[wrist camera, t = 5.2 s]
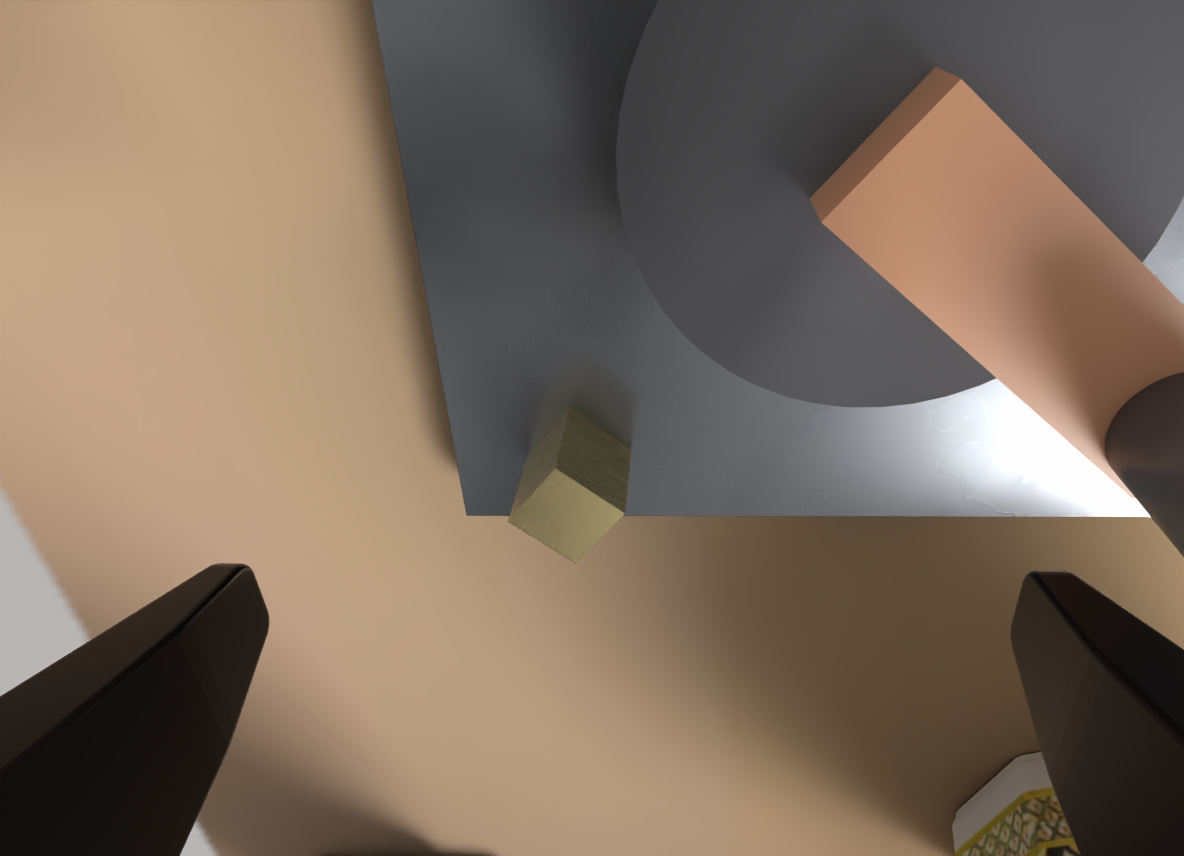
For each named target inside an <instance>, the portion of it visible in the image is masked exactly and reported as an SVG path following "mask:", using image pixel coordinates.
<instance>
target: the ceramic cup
mask: <svg viewBox="0 0 1184 856" xmlns="http://www.w3.org/2000/svg"><path fill="white" fill-rule="evenodd" d="M952 830H953V840H954V849H955V856H1080V854H1079V852H1078V849H1077V847H1076V844H1075V842H1074V839H1073V837H1072V834H1071V832H1070V829H1069V827H1068V824H1067V822H1066V819H1065V817H1064V815H1063V812H1062V810H1061V807H1060V805H1059V802H1058V800H1057V797H1056V794H1055V792H1054V789H1053V786H1052V784H1051V781H1050V778H1049V776H1048V772H1047V769H1046V766H1045V762H1044V759H1043V756H1042V752H1037V753H1031V754H1026V755H1021V756H1019V757H1016V758H1015V759H1014V760H1013V761H1012V762H1010V763H1009V764H1008V765H1007V766H1006V767H1005V768H1004V769H1003V770H1002V771H1001V772H999V773H998V774H997V775H996V776H995V777H994V778H993V779H992V780H991V781H990V782H988V783H987V784H986V785H985V786H984V787H983V788H982V789H981V790H980V791H979V792H977V793H976V794H975V795H974V796H973V797H972V798H971V799H970V800H969V801H968V802H966V803H965V804H964V805H963V806H962V807H961V808H960V809H959V810H958V811H957V812H956V819H955V820H954V822H953V824H952Z"/></svg>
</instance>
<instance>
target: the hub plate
mask: <svg viewBox="0 0 1184 856" xmlns="http://www.w3.org/2000/svg"><path fill="white" fill-rule="evenodd" d="M658 1H659V0H372V6H373V11H374V16H375V22H376V27H377V33H378V38H379V43H380V49H381V54H382V60H383V65H384V71H385V76H386V81H387V87H388V92H389V98H390V103H391V108H392V114H393V119H394V125H395V130H396V136H397V141H398V146H399V152H400V157H401V163H402V168H403V173H404V179H405V184H406V190H407V195H408V201H409V206H410V211H411V217H412V222H413V228H414V233H415V238H416V244H417V249H418V255H419V260H420V266H421V271H422V276H423V282H424V287H425V293H426V298H427V303H428V309H429V314H430V320H431V325H432V331H433V336H434V341H435V347H436V352H437V358H438V363H439V368H440V374H441V379H442V385H443V390H444V396H445V401H446V406H447V412H448V417H449V423H450V428H451V433H452V439H453V444H454V450H455V455H456V461H457V466H458V471H459V477H460V482H461V488H462V493H463V498H464V504H465V509H466V515H467V516H510V517H509V520H508V522H509V523H511V524H513V525H514V526H516V527H517V528H519V529H521V530H522V531H524V532H525V533H527V534H529V535H530V536H532V537H534V538H535V539H537V540H538V541H540V542H542V543H543V544H545V545H546V546H548V547H550V548H551V549H553V550H555V551H556V552H558V553H559V554H561V555H563V556H564V557H566V558H567V559H569V560H571V561H572V562H574V563H575V564H576V563H577V562H578V561H579V560H580V559H581V558H582V557H583V556H584V555H585V554H586V553H587V552H588V551H589V550H590V549H591V548H592V547H593V546H594V545H595V544H596V543H597V542H598V541H599V540H600V539H601V538H602V537H603V536H604V535H605V534H606V533H607V532H608V531H609V529H610V528H611V527H612V526H613V525H614V524H615V523H616V522H617V521H618V520H619V519H620V518H621V517H622V516H968V517H1151V516H1150V515H1149V514H1148V513H1147V511H1146V510H1145V509H1144V508H1143V507H1142V505H1141V504H1140V503H1139V502H1138V500H1137V499H1136V498H1135V499H1134V500H1133V499H1132V498H1131V497H1130V496H1129V495H1128V494H1126V493H1125V492H1124V491H1123V490H1122V489H1121V488H1120V487H1119V486H1117V485H1116V484H1115V483H1114V482H1113V481H1112V480H1111V479H1110V478H1108V477H1107V476H1106V475H1105V474H1104V473H1103V472H1102V471H1101V470H1099V469H1098V468H1097V467H1096V466H1095V465H1094V464H1093V463H1092V462H1090V461H1089V460H1088V459H1087V458H1086V457H1085V456H1084V455H1083V454H1081V453H1080V452H1079V451H1078V450H1077V449H1076V448H1075V447H1074V446H1072V445H1071V444H1070V443H1069V442H1068V441H1067V440H1066V439H1065V438H1063V437H1062V436H1061V435H1060V434H1059V433H1058V432H1057V431H1056V430H1054V429H1053V428H1052V427H1051V426H1050V425H1049V424H1048V423H1047V422H1045V421H1044V420H1043V419H1042V418H1041V417H1040V416H1039V415H1038V414H1036V413H1035V412H1034V411H1033V410H1032V409H1031V408H1030V407H1029V406H1027V405H1026V404H1025V403H1024V402H1023V401H1022V400H1021V399H1020V398H1018V397H1017V396H1016V395H1015V394H1014V393H1013V392H1012V391H1011V390H1009V389H1008V388H1007V387H1006V386H1005V385H1004V384H1003V383H1002V382H1000V381H999V380H998V379H997V378H996V379H994V380H991V381H989V382H987V383H985V384H982V385H980V386H977V387H974V388H971V389H968V390H965V391H962V392H959V393H956V394H953V395H950V396H947V397H942V398H937V399H933V400H928V401H924V402H919V403H915V404H907V405H897V406H888V407H840V406H831V405H822V404H815V403H811V402H807V401H802V400H798V399H794V398H789V397H786V396H783V395H780V394H777V393H775V392H772V391H769V390H766V389H764V388H761V387H758V386H756V385H754V384H752V383H750V382H748V381H746V380H744V379H742V378H740V377H739V376H737V375H735V374H733V373H731V372H729V371H728V370H726V369H725V368H724V367H722V366H721V365H719V364H718V363H716V362H715V361H713V360H712V359H710V358H709V357H707V356H706V355H705V354H704V353H703V352H702V351H700V350H699V349H698V348H697V347H696V346H695V345H694V344H693V343H692V342H691V341H689V340H688V339H687V338H686V337H685V336H684V335H683V334H682V333H681V332H680V330H679V329H678V328H677V327H676V326H675V325H674V323H673V322H672V321H671V320H670V319H669V317H668V316H667V315H666V314H665V313H664V312H663V310H662V308H661V307H660V305H659V304H658V302H657V301H656V299H655V297H654V296H653V294H652V293H651V291H650V290H649V288H648V286H647V285H646V283H645V281H644V278H643V276H642V274H641V272H640V270H639V268H638V265H637V263H636V261H635V259H634V257H633V254H632V251H631V248H630V244H629V241H628V238H627V235H626V231H625V228H624V225H623V220H622V214H621V208H620V202H619V196H618V190H617V167H616V147H617V136H618V125H619V115H620V110H621V105H622V101H623V96H624V91H625V87H626V82H627V78H628V74H629V71H630V68H631V66H632V63H633V60H634V57H635V54H636V51H637V48H638V45H639V43H640V40H641V37H642V34H643V32H644V29H645V27H646V25H647V23H648V21H649V19H650V17H651V15H652V13H653V11H654V9H655V7H656V5H657V3H658ZM1143 264H1144V265H1145V266H1146V267H1147V268H1148V269H1149V270H1150V271H1151V272H1152V273H1153V274H1154V275H1155V276H1156V277H1157V278H1158V279H1159V280H1160V281H1161V282H1162V283H1163V284H1164V286H1165V287H1166V288H1167V289H1168V290H1169V291H1170V292H1171V293H1172V294H1173V295H1174V296H1175V297H1176V298H1177V299H1178V300H1179V301H1180V302H1181V303H1182V304H1183V305H1184V196H1183V199H1182V201H1181V203H1180V205H1179V207H1178V209H1177V211H1176V213H1175V214H1174V216H1173V218H1172V219H1171V221H1170V223H1169V224H1168V226H1167V228H1166V229H1165V231H1164V233H1163V234H1162V236H1161V238H1160V239H1159V241H1158V243H1157V244H1156V246H1155V247H1154V248H1153V250H1152V251H1151V252H1150V253H1149V255H1148V256H1147V257H1146V259H1145V260H1144V261H1143Z"/></svg>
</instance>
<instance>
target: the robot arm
mask: <svg viewBox="0 0 1184 856" xmlns="http://www.w3.org/2000/svg"><path fill="white" fill-rule="evenodd" d="M268 629H269V614H268V610H267V608H266V605H265V602H264V599H263V597H262V594H261V591H260V589H259V586H258V583H257V581H256V578H255V575H254V573H253V571H252V569H251V568H250V567H249V566H247V565H245V564H225V563H220V564H214V565H211V566H209V567H208V568H206V569H204V570H203V571H201V572H199V573H198V574H196V575H195V576H193V577H191V578H190V579H188V580H187V581H185V582H183V583H182V584H180V585H179V586H177V587H175V588H174V589H172V590H171V591H169V592H167V593H166V594H164V595H163V596H161V597H159V598H158V599H156V600H154V601H153V602H151V603H150V604H148V605H146V606H145V607H143V608H142V609H140V610H138V611H137V612H135V613H134V614H132V615H130V616H129V617H127V618H126V619H124V620H122V621H121V622H119V623H118V624H116V625H114V626H113V627H111V628H110V629H108V630H106V631H105V632H103V633H101V634H100V635H98V636H97V637H95V638H93V639H92V640H90V641H89V642H87V643H85V644H84V645H83V646H81V647H79V648H77V649H76V650H74V651H73V652H71V653H69V654H68V655H66V656H65V657H63V658H61V659H60V660H58V661H57V662H55V663H53V664H52V665H50V666H49V667H47V668H45V669H44V670H42V671H40V672H39V673H37V674H36V675H34V676H32V677H31V678H29V679H28V680H26V681H24V682H23V683H21V684H20V685H18V686H16V687H15V688H13V689H12V690H10V691H8V692H7V693H5V694H4V695H2V696H0V856H180V854H181V851H182V849H183V847H184V845H185V843H186V840H187V838H188V836H189V834H190V832H191V830H192V828H193V825H194V823H195V821H196V819H197V817H198V814H199V812H200V810H201V808H202V806H203V803H204V801H205V799H206V797H207V795H208V792H209V790H210V788H211V786H212V784H213V781H214V779H215V777H216V775H217V773H218V770H219V768H220V766H221V764H222V761H223V759H224V757H225V754H226V752H227V750H228V747H229V745H230V742H231V740H232V737H233V734H234V731H235V729H236V726H237V723H238V720H239V717H240V714H241V711H242V708H243V705H244V702H245V699H246V696H247V693H248V690H249V687H250V684H251V681H252V678H253V675H254V672H255V669H256V666H257V663H258V660H259V657H260V654H261V652H262V649H263V646H264V643H265V640H266V637H267V633H268ZM1011 642H1012V647H1013V651H1014V655H1015V659H1016V662H1017V666H1018V669H1019V673H1020V677H1021V680H1022V684H1023V687H1024V691H1025V695H1026V698H1027V702H1028V705H1029V709H1030V713H1031V716H1032V720H1033V724H1034V727H1035V731H1036V734H1037V738H1038V742H1039V745H1040V749H1041V752H1042V756H1043V759H1044V762H1045V766H1046V769H1047V772H1048V776H1049V778H1050V781H1051V784H1052V786H1053V789H1054V792H1055V794H1056V797H1057V800H1058V802H1059V805H1060V807H1061V810H1062V812H1063V815H1064V817H1065V819H1066V822H1067V824H1068V827H1069V829H1070V832H1071V834H1072V837H1073V839H1074V842H1075V844H1076V847H1077V849H1078V852H1079V854H1080V856H1184V650H1183V649H1182V648H1180V647H1179V646H1178V645H1176V644H1175V643H1173V642H1172V641H1170V640H1169V639H1167V638H1166V637H1165V636H1163V635H1162V634H1160V633H1159V632H1157V631H1156V630H1154V629H1153V628H1151V627H1150V626H1149V625H1147V624H1146V623H1144V622H1143V621H1141V620H1140V619H1138V618H1137V617H1135V616H1134V615H1133V614H1131V613H1130V612H1128V611H1127V610H1125V609H1124V608H1122V607H1121V606H1120V605H1118V604H1117V603H1115V602H1114V601H1112V600H1111V599H1109V598H1108V597H1106V596H1105V595H1104V594H1102V593H1101V592H1099V591H1098V590H1096V589H1095V588H1093V587H1092V586H1090V585H1089V584H1088V583H1086V582H1085V581H1083V580H1082V579H1080V578H1079V577H1077V576H1076V575H1074V574H1072V573H1070V572H1066V571H1032V572H1030V573H1028V574H1027V576H1026V577H1025V579H1024V581H1023V584H1022V588H1021V591H1020V595H1019V599H1018V602H1017V606H1016V610H1015V614H1014V617H1013V621H1012V625H1011Z"/></svg>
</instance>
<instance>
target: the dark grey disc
mask: <svg viewBox="0 0 1184 856" xmlns="http://www.w3.org/2000/svg"><path fill="white" fill-rule="evenodd" d="M616 167H617V190H618V196H619V202H620V208H621V214H622V220H623V225H624V228H625V231H626V235H627V238H628V241H629V244H630V248H631V251H632V254H633V257H634V259H635V261H636V263H637V265H638V268H639V270H640V272H641V274H642V276H643V278H644V281H645V283H646V285H647V286H648V288H649V290H650V291H651V293H652V294H653V296H654V297H655V299H656V301H657V302H658V304H659V305H660V307H661V308H662V310H663V312H664V313H665V314H666V315H667V316H668V317H669V319H670V320H671V321H672V322H673V323H674V325H675V326H676V327H677V328H678V329H679V330H680V332H681V333H682V334H683V335H684V336H685V337H686V338H687V339H688V340H689V341H691V342H692V343H693V344H694V345H695V346H696V347H697V348H698V349H699V350H700V351H702V352H703V353H704V354H705V355H706V356H707V357H709V358H710V359H712V360H713V361H715V362H716V363H718V364H719V365H721V366H722V367H724V368H725V369H726V370H728V371H729V372H731V373H733V374H735V375H737V376H739V377H740V378H742V379H744V380H746V381H748V382H750V383H752V384H754V385H756V386H758V387H761V388H764V389H766V390H769V391H772V392H775V393H777V394H780V395H783V396H786V397H789V398H794V399H798V400H802V401H807V402H811V403H815V404H822V405H831V406H840V407H888V406H897V405H907V404H915V403H919V402H924V401H928V400H933V399H937V398H942V397H947V396H950V395H953V394H956V393H959V392H962V391H965V390H968V389H971V388H974V387H977V386H980V385H982V384H985V383H987V382H989V381H991V380H994V379H996V378H997V379H998V380H999V381H1000V382H1002V383H1003V384H1004V385H1005V386H1006V387H1007V388H1008V389H1009V390H1011V391H1012V392H1013V393H1014V394H1015V395H1016V396H1017V397H1018V398H1020V399H1021V400H1022V401H1023V402H1024V403H1025V404H1026V405H1027V406H1029V407H1030V408H1031V409H1032V410H1033V411H1034V412H1035V413H1036V414H1038V415H1039V416H1040V417H1041V418H1042V419H1043V420H1044V421H1045V422H1047V423H1048V424H1049V425H1050V426H1051V427H1052V428H1053V429H1054V430H1056V431H1057V432H1058V433H1059V434H1060V435H1061V436H1062V437H1063V438H1065V439H1066V440H1067V441H1068V442H1069V443H1070V444H1071V445H1072V446H1074V447H1075V448H1076V449H1077V450H1078V451H1079V452H1080V453H1081V454H1083V455H1084V456H1085V457H1086V458H1087V459H1088V460H1089V461H1090V462H1092V463H1093V464H1094V465H1095V466H1096V467H1097V468H1098V469H1099V470H1101V471H1102V472H1103V473H1104V474H1105V475H1106V476H1107V477H1108V478H1110V479H1111V480H1112V481H1113V482H1114V483H1115V484H1116V485H1117V486H1119V487H1120V488H1121V489H1122V490H1123V491H1124V492H1125V493H1126V494H1128V495H1129V496H1130V497H1131V498H1132V499H1133V500H1134V499H1135V498H1136V499H1137V500H1138V502H1139V503H1140V504H1141V505H1142V507H1143V508H1144V509H1145V510H1146V511H1147V513H1148V514H1149V515H1150V516H1151V518H1152V519H1153V520H1154V521H1155V523H1156V524H1157V525H1158V526H1159V527H1160V529H1161V530H1162V531H1163V532H1164V534H1165V535H1166V536H1167V537H1168V538H1169V540H1170V541H1171V542H1172V543H1173V545H1174V546H1175V547H1176V548H1177V550H1178V551H1179V552H1180V553H1181V554H1182V556H1183V557H1184V305H1183V304H1182V303H1181V302H1180V301H1179V300H1178V299H1177V298H1176V297H1175V296H1174V295H1173V294H1172V293H1171V292H1170V291H1169V290H1168V289H1167V288H1166V287H1165V286H1164V284H1163V283H1162V282H1161V281H1160V280H1159V279H1158V278H1157V277H1156V276H1155V275H1154V274H1153V273H1152V272H1151V271H1150V270H1149V269H1148V268H1147V267H1146V266H1145V265H1144V264H1143V261H1144V260H1145V259H1146V257H1147V256H1148V255H1149V253H1150V252H1151V251H1152V250H1153V248H1154V247H1155V246H1156V244H1157V243H1158V241H1159V239H1160V238H1161V236H1162V234H1163V233H1164V231H1165V229H1166V228H1167V226H1168V224H1169V223H1170V221H1171V219H1172V218H1173V216H1174V214H1175V213H1176V211H1177V209H1178V207H1179V205H1180V203H1181V201H1182V199H1183V196H1184V0H659V1H658V3H657V5H656V7H655V9H654V11H653V13H652V15H651V17H650V19H649V21H648V23H647V25H646V27H645V29H644V32H643V34H642V37H641V40H640V43H639V45H638V48H637V51H636V54H635V57H634V60H633V63H632V66H631V68H630V71H629V74H628V78H627V82H626V87H625V91H624V96H623V101H622V105H621V110H620V115H619V125H618V136H617V147H616Z"/></svg>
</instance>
